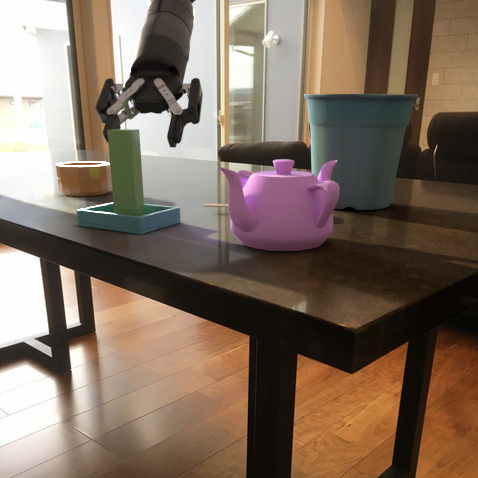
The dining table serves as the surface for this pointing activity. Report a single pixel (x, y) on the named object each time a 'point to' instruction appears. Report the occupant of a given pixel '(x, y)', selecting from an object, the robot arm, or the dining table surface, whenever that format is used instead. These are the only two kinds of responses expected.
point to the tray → (128, 218)
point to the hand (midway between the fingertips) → (140, 142)
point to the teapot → (282, 206)
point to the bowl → (84, 178)
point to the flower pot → (359, 143)
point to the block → (126, 171)
